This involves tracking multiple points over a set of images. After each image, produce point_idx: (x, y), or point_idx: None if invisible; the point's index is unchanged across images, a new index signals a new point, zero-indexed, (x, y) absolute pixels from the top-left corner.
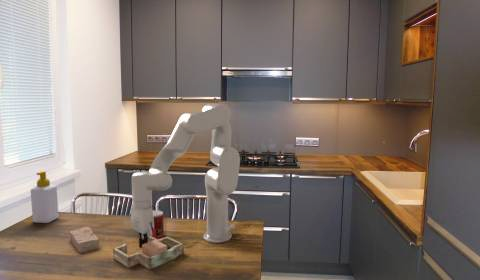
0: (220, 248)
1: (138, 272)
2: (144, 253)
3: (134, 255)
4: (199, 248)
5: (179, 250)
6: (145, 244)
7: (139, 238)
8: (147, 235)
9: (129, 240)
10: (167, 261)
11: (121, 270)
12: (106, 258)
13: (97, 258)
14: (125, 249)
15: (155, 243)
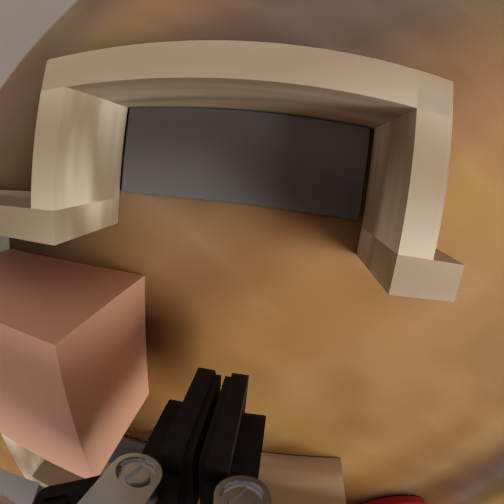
0: None
1: (15, 108)
2: (74, 291)
3: (36, 145)
4: None
5: None
6: (39, 369)
7: (211, 464)
8: (27, 489)
9: (500, 416)
10: None
11: (125, 23)
12: (450, 79)
13: (497, 52)
14: (377, 250)
15: (16, 420)
